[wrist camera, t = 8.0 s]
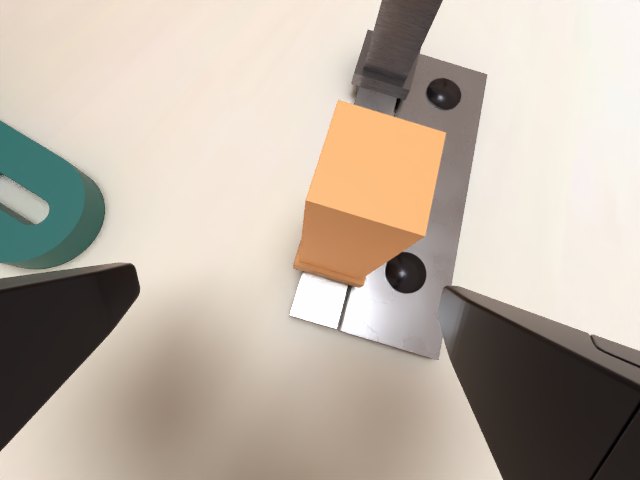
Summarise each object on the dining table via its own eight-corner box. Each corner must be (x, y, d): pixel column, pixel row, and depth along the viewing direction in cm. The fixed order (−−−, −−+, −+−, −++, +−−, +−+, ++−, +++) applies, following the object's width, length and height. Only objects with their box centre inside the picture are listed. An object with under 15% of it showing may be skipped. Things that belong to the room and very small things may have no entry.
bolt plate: (431, 358, 20) (439, 360, 19) (338, 330, 20) (341, 330, 19) (480, 83, 26) (488, 72, 24) (408, 62, 26) (413, 50, 24)
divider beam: (342, 331, 20) (413, 338, 8) (280, 312, 20) (264, 294, 8) (411, 62, 26) (509, -154, 14) (363, 48, 26) (422, -181, 14)
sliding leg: (358, 288, 19) (431, 247, 9) (293, 268, 19) (294, 205, 9) (374, 226, 20) (455, 128, 10) (312, 207, 20) (332, 91, 10)
